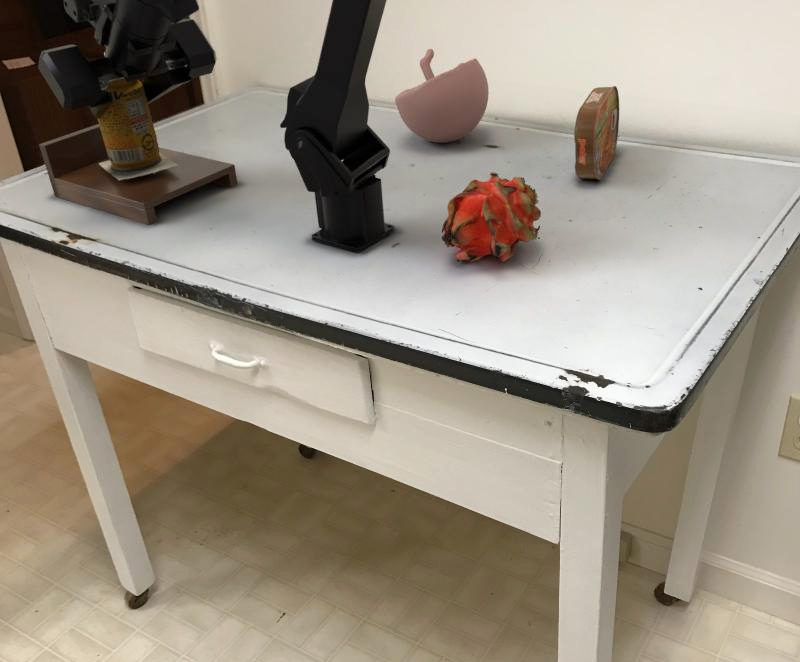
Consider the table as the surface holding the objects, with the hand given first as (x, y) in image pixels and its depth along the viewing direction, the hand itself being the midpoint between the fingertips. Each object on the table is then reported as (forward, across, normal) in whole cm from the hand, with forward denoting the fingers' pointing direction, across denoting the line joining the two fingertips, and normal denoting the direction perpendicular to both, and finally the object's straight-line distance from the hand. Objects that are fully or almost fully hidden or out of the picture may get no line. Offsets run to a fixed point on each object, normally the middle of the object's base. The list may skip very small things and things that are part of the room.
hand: (119, 108), depth 101 cm
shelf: (+6, 0, +8) cm, 10 cm away
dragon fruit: (-26, -13, +40) cm, 49 cm away
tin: (-21, -39, +36) cm, 57 cm away
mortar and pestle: (-6, -35, +20) cm, 41 cm away
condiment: (+4, 0, +6) cm, 7 cm away
